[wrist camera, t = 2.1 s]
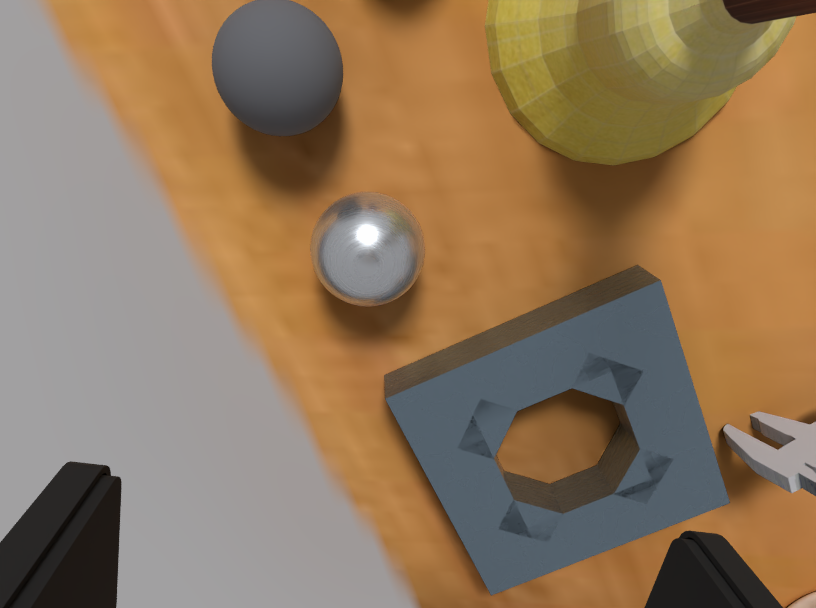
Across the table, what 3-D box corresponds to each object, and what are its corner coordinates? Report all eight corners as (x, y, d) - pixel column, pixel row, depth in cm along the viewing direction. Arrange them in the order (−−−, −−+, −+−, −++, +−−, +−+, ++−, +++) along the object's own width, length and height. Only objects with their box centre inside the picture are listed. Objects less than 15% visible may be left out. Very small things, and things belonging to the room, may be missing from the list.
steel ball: (324, 174, 27) (313, 191, 22) (430, 194, 27) (441, 216, 22) (309, 276, 28) (295, 312, 24) (409, 293, 29) (415, 332, 24)
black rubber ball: (235, -5, 24) (201, -29, 19) (354, 22, 24) (350, 6, 20) (223, 119, 26) (190, 125, 21) (336, 142, 26) (327, 153, 21)
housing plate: (384, 375, 30) (385, 398, 28) (637, 265, 29) (660, 280, 27) (483, 561, 35) (491, 595, 33) (705, 474, 34) (730, 502, 31)
